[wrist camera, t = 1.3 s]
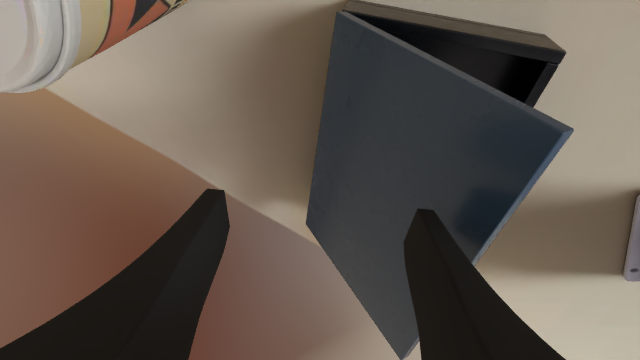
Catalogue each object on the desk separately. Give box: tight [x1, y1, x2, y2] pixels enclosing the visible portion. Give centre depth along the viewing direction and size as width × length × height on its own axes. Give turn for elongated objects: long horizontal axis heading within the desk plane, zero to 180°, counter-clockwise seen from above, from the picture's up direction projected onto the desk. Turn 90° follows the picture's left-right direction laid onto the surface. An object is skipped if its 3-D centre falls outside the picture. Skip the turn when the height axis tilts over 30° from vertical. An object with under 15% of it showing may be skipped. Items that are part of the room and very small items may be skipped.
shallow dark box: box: [342, 0, 566, 108], centre depth 22 cm, size 11×15×3 cm
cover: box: [306, 12, 574, 360], centre depth 17 cm, size 11×15×1 cm
